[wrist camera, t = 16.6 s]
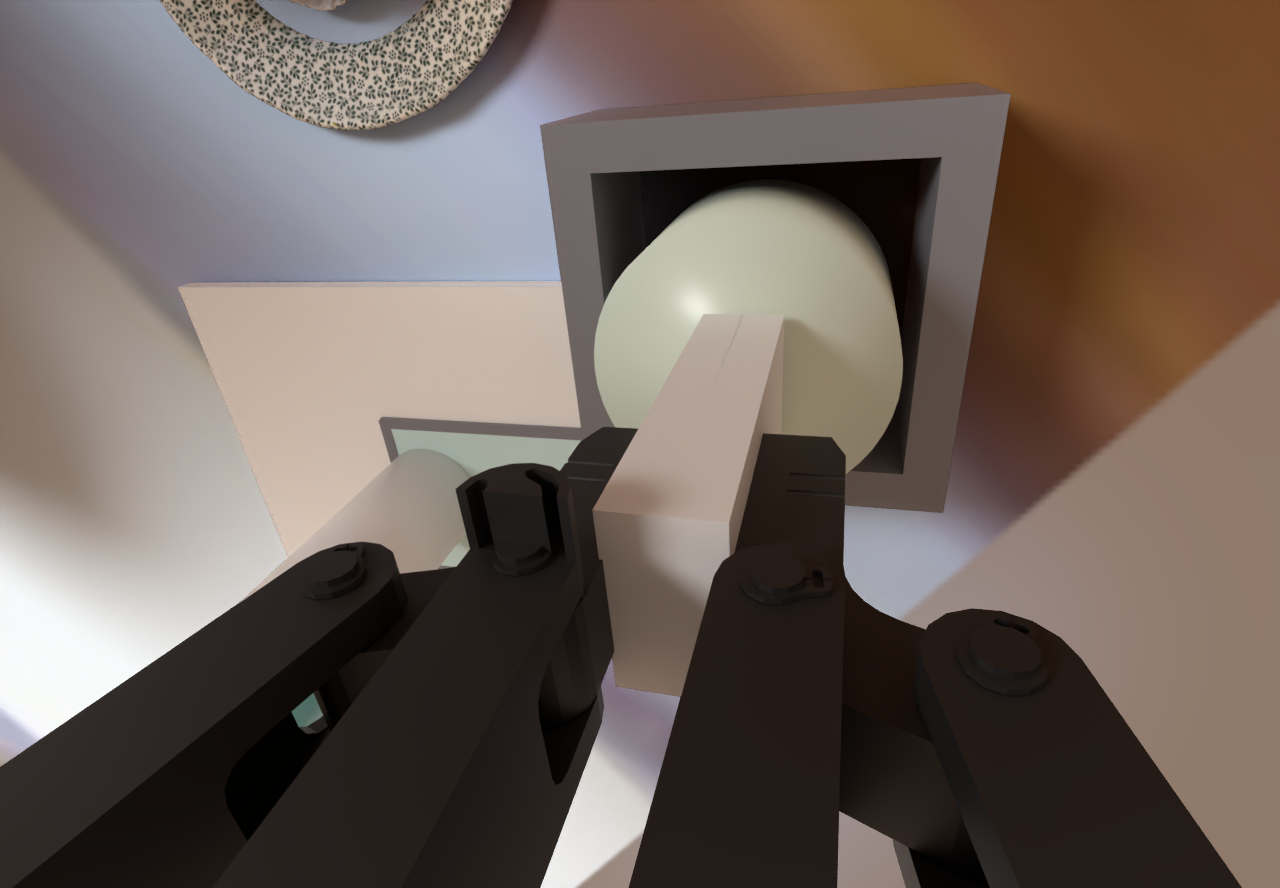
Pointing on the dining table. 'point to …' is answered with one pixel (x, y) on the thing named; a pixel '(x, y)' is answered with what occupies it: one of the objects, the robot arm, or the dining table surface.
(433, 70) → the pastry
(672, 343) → the button
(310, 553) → the marker
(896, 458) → the button housing
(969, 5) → the dining table surface
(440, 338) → the sheet
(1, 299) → the dining table surface
